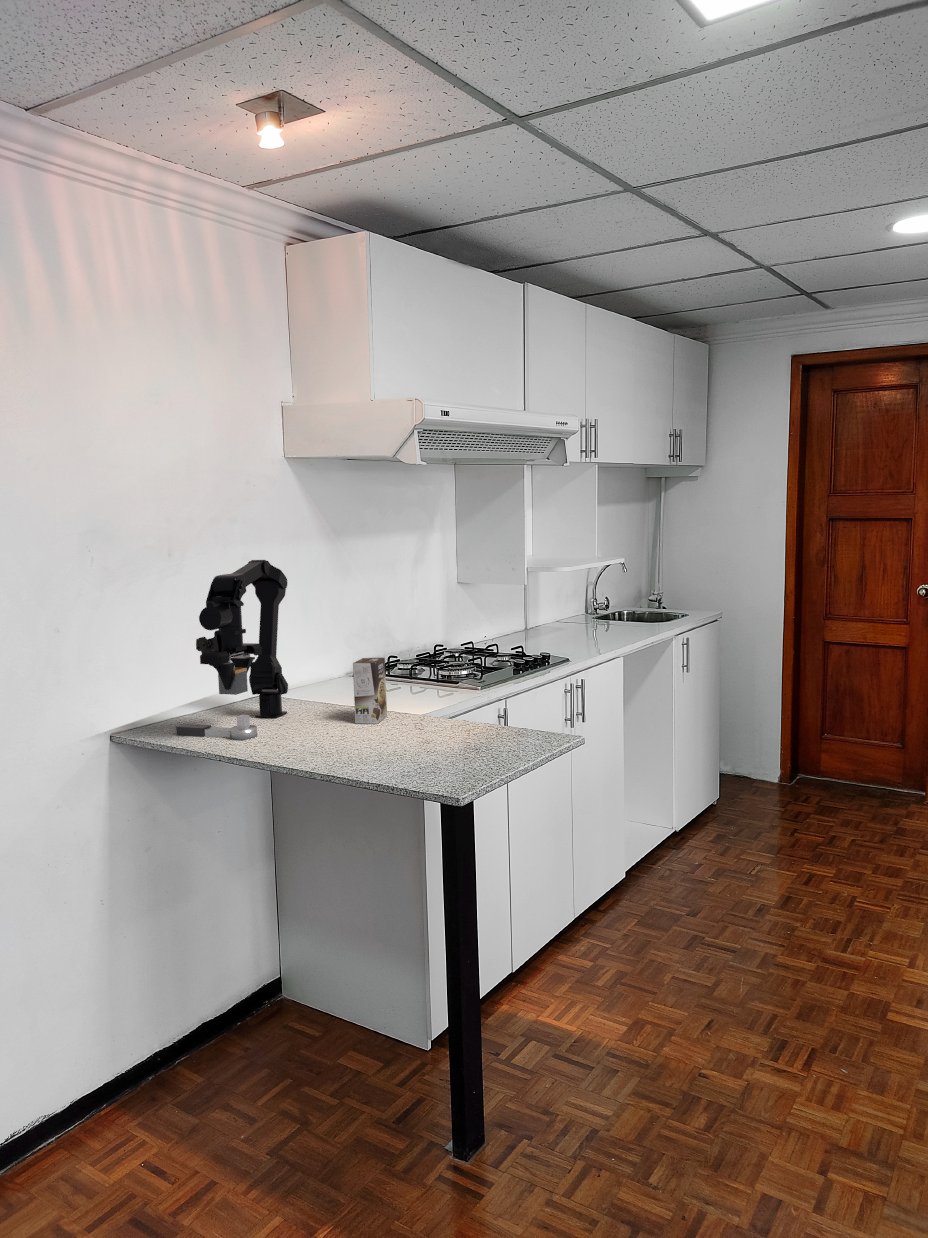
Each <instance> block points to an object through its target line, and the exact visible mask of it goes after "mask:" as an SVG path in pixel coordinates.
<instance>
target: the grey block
mask: <svg viewBox="0 0 928 1238" xmlns="http://www.w3.org/2000/svg"><path fill="white" fill-rule="evenodd" d="M217 674H218V675H217V677H218V678H217V679H218V694H219V695H232V696H233V695H234V696H235V695H236V696H237V695H240V694H243V693H247V692H248V689H249V687H248V675H247V674H248V672H247V668H243V667H235V666H234V671H233V676H232V681H231V686H230V689H229V690H225V688H224V685H223V683H222V680H221V678H220V676H219V673H218V672H217Z"/></svg>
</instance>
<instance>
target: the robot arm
mask: <svg viewBox="0 0 928 1238" xmlns="http://www.w3.org/2000/svg"><path fill="white" fill-rule="evenodd" d="M250 585H252V586H253V587H254V589H255V590H254V591H255V592H254V593H255V596H256V598H257V600H258V601H259V603H260V614H259V629H258V630H259V633H258V634H259V635H258V642H257V643H251V642H250V643H249V642H247V643H245V642H244V640H243V637H244V636H243V634H246V633H247V629H246V628H243V622H242V621H243V619H242V618H243V616H242V607H243V606H244V605H245V603H244V601H242V598H243V597H244V595H245V593H247V587H248V586H250ZM209 586H210V587H209V590H208V594H207V597H206V601H205V607H204V608H203V609H202V610H201V611H200V613H199V616H198V621H199V623H200V625H201V627H202V628H203V629H205V630H206V631H214V632H213V633H214V635H213V637H211V638H206V637H205V636H201V637H199V638H196V640H195V647H196V648H195V649H196V651H198V652H200V653H201V654H200V656H199V664H200V665H209V666H210V667H213V668H214V669H215V670H216V671H217V674H218V673H219V676H220V678H221V680H222V683H223V685H224V688H225V690H229V689H230V686H231V681H232V676H233V671H234V667H243V668H247V673H248V672H249V671H250V673H249V676H248V677H249V678H248V681H249V686H250V690H251V695H258V701H259V702H258V705H259V706H258V707H259V713H258V714H255V717H256V718H267V719H277V718H279V717H281V716H285V715H286V714H288V711H287V710H286V711H285V710H283V706H282V705H283V703H282V695H285V694H288V692H289V683H288V682H287V680H286V678H285V677H284V675H283V672H282V671H283V670H282V669H283V668H282V667H283V666H282V665H281V663H280V662H279V660H278V658H277V652H278V651H277V650H278V647H277V646H278V629H279V627H278V626H279V625H278V624H279V609H280V608H279V606H280V604H281V603H282V601H283V599H284V598H285V597H286V593H287V592H286V590H287V588H288V578H287V576H286V575H285V574H284V572H283V571H282V569H280V568H278V567H276V566H274V565H272V564H271V562H269V561H268V560H266V559H252V560H249V561H248V562H247V563H246V564H245V565H243V566H242V567H240V568H238V569H237V570H235V571H234V572H232V573H225V574H219V575H215V576H214V577H213V579H212V581H211V583H210V585H209ZM251 655H254V656H251ZM255 656H257V657H255Z"/></svg>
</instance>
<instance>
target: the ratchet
mask: <svg viewBox="0 0 928 1238" xmlns="http://www.w3.org/2000/svg"><path fill="white" fill-rule="evenodd" d="M175 730H176V731H175V732H176V736H178V737H179V736H180V737H181V736H183V737H184V736H185V737H197V738H198V737H200V738H204V736H205V737H207V738H222V737H225V738H226V737H227V739H231V740H232V739H233V741H246V740H245V739H249V740H252V739H251V738H253V739H255V737H256V738H257V737H258V727H257V725H255V724H250V714H240V715H236V725H235V726H232V727H222V726H221V727H217V726H212V725H211V724H198V723H197V724H195V723H194V724H193V723H183V724H180V725H177V726H176V727H175Z"/></svg>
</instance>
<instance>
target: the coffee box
mask: <svg viewBox="0 0 928 1238" xmlns="http://www.w3.org/2000/svg"><path fill="white" fill-rule="evenodd" d="M352 671H353V672H352V673H353V674H352V676H353V696H354V697H353V699H354V722H355V724H369V725H370V724H371V725H378V724H379V723H380V722H382V721H383V720H384V719H386V718H387V717H388V703H387V700H388V699H387V684H386V683H387V682H386V681H387V680H386V679H387V677H386V658H385V657H362V658H361V659H358V660H356V661H355V662H353V663H352Z"/></svg>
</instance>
